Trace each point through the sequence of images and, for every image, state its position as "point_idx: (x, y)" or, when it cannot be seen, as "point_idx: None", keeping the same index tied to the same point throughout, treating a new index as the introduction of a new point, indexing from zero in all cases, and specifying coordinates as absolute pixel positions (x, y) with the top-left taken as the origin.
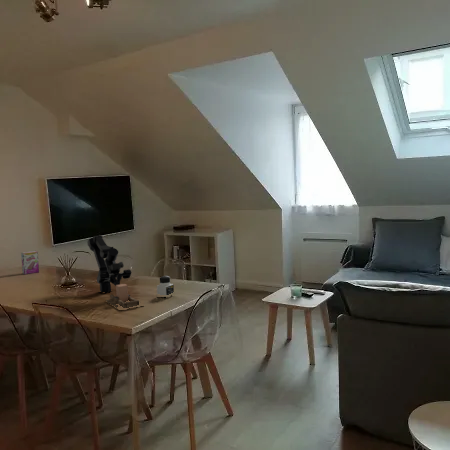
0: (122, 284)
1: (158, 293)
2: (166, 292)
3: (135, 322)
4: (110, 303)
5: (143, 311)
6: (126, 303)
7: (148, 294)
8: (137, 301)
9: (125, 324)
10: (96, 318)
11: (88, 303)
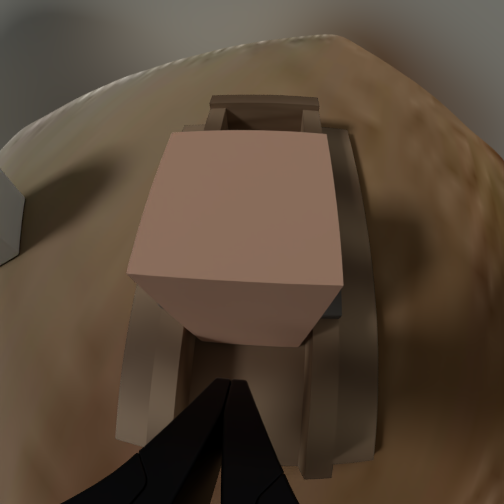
0: (190, 238)
1: (4, 230)
2: (6, 176)
3: (319, 44)
4: (375, 306)
5: (239, 85)
6: (304, 99)
7: (4, 366)
8: (224, 98)
9: (352, 49)
10: (452, 132)
11: (481, 458)
